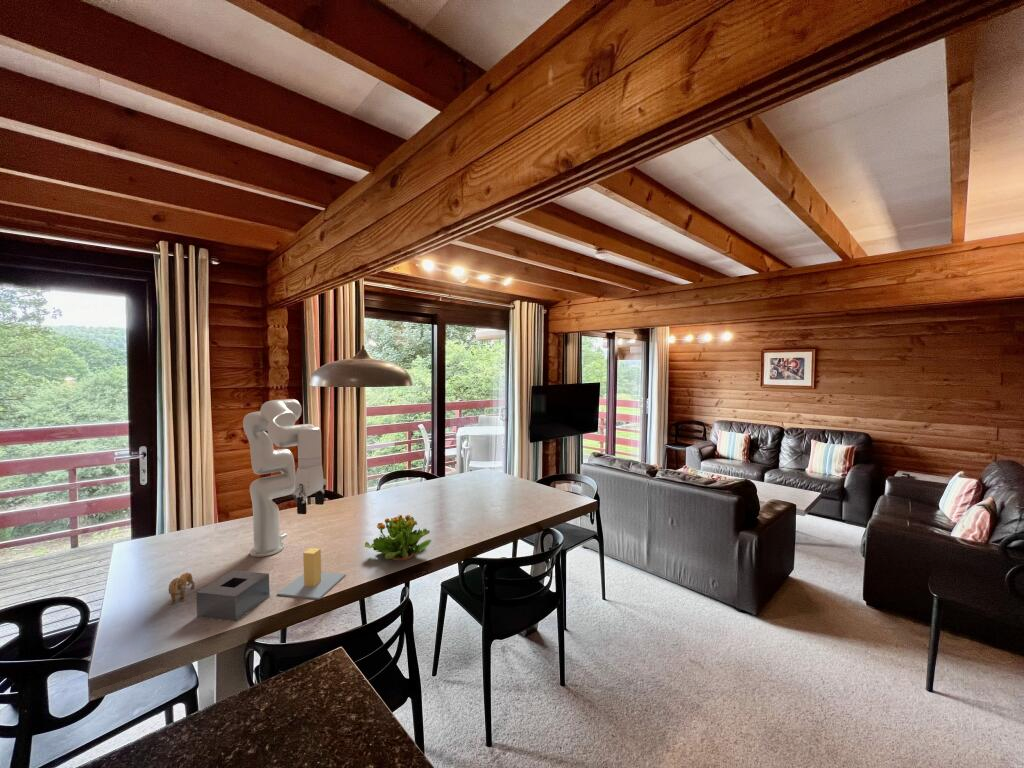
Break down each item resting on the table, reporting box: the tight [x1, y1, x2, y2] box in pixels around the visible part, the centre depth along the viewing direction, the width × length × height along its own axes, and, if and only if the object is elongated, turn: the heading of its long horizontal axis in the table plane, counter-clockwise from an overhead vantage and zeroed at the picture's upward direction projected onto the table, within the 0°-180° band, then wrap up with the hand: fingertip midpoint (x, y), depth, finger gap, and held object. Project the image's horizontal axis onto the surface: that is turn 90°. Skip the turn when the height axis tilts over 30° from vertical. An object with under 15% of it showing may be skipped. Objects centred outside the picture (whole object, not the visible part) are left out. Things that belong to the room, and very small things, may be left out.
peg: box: [302, 547, 322, 587], centre depth 148 cm, size 4×4×12 cm
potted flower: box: [364, 514, 432, 562], centre depth 171 cm, size 25×24×18 cm
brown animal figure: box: [168, 572, 196, 605], centre depth 141 cm, size 15×5×9 cm, turn 27°
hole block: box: [195, 569, 270, 622], centre depth 135 cm, size 14×14×8 cm
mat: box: [276, 571, 347, 600], centre depth 148 cm, size 16×16×1 cm
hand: (310, 508), depth 147 cm, fingers open, 9 cm apart
